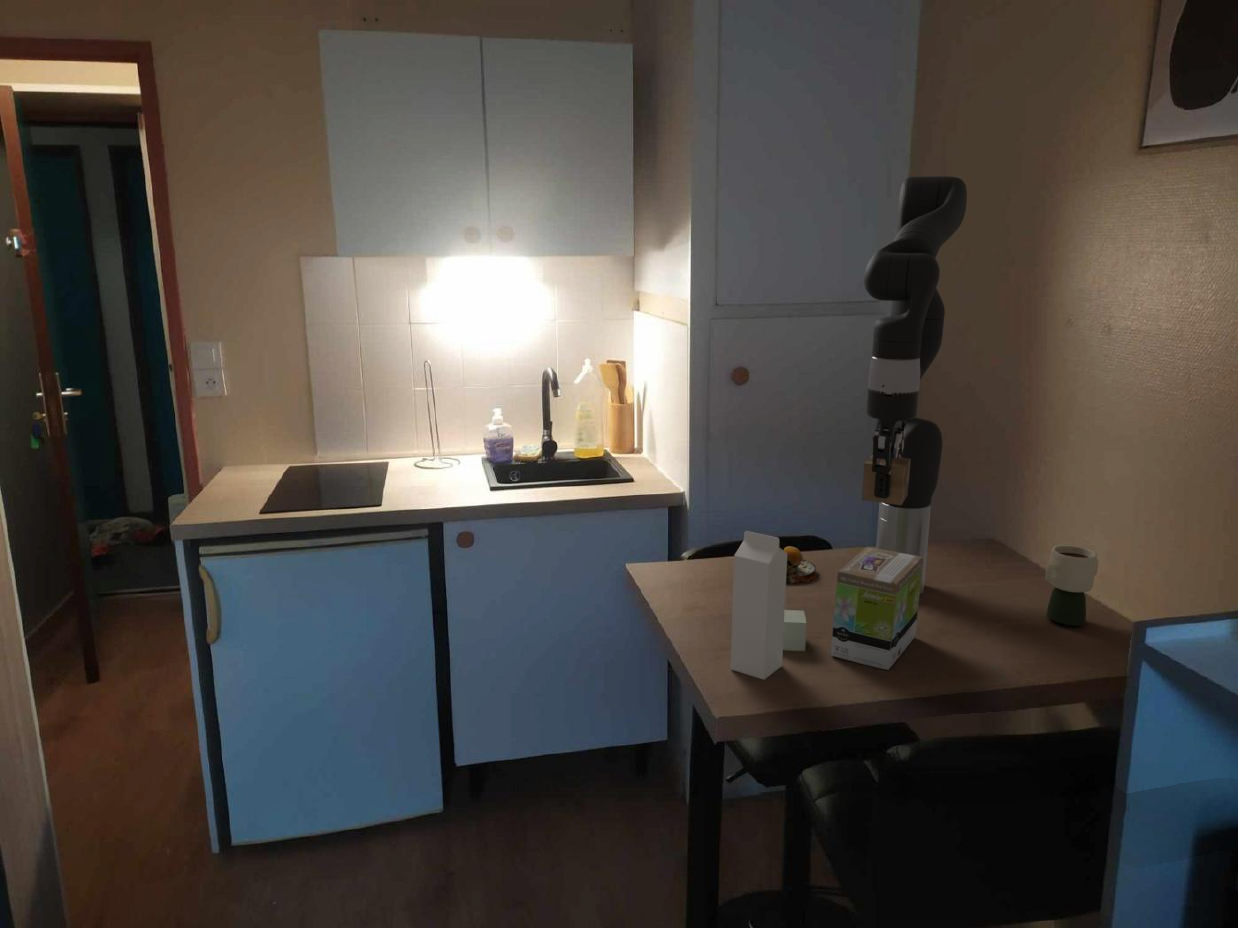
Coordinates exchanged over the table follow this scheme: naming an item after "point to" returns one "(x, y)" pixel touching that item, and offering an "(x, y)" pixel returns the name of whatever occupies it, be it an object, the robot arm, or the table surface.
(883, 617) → the tea box
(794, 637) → the sage block
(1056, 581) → the character mug
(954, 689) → the table surface
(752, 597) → the milk
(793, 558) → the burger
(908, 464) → the walnut cube
